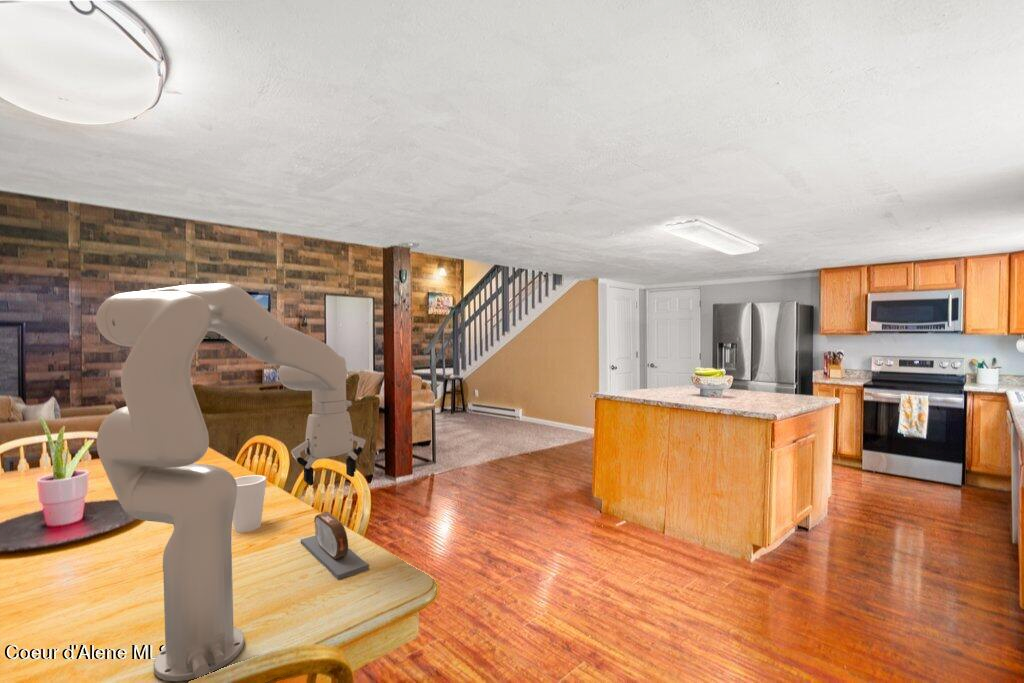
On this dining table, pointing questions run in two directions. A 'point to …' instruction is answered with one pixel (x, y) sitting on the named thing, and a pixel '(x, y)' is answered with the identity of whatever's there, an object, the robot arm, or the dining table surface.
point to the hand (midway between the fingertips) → (330, 479)
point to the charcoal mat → (335, 566)
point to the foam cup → (249, 503)
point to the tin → (331, 535)
